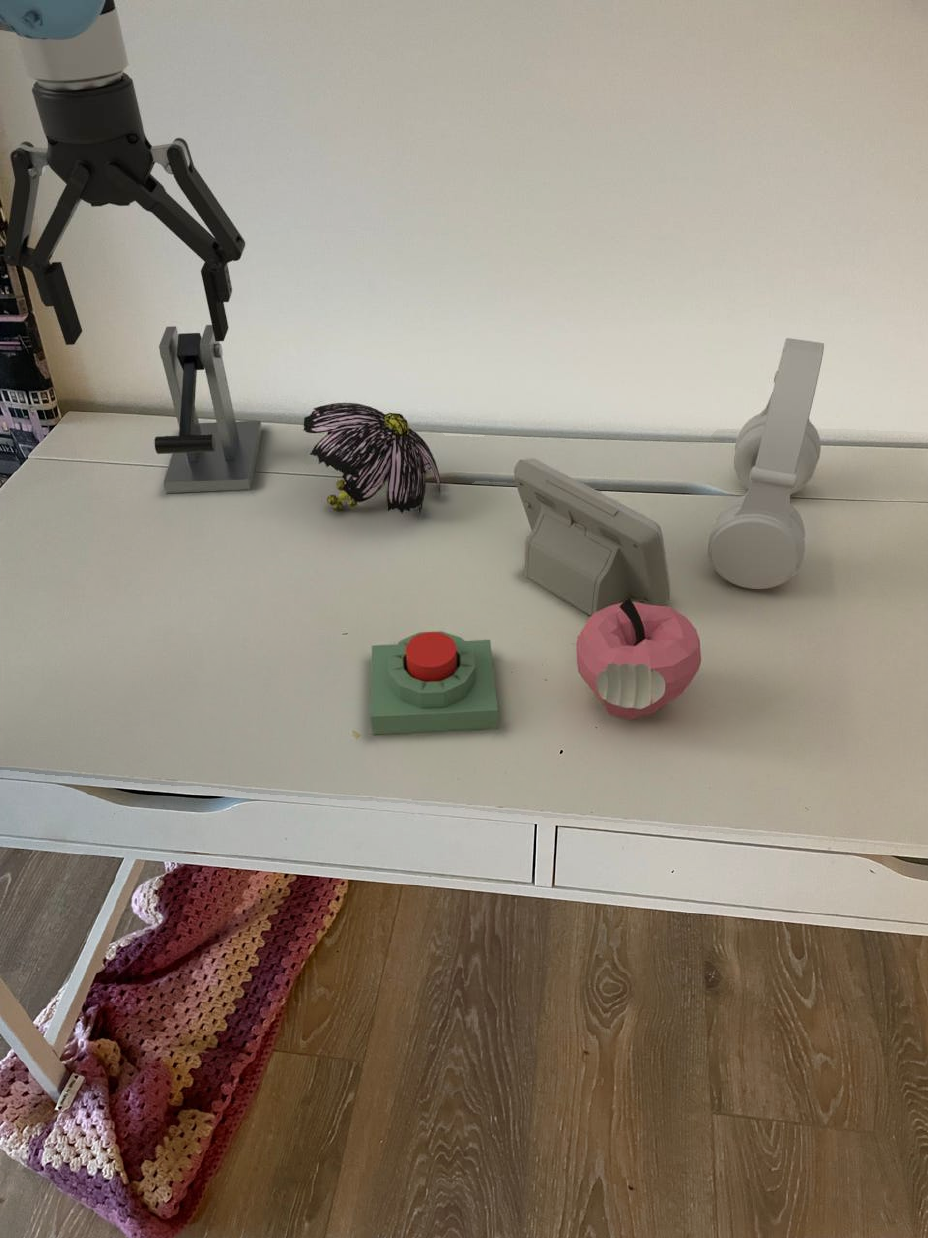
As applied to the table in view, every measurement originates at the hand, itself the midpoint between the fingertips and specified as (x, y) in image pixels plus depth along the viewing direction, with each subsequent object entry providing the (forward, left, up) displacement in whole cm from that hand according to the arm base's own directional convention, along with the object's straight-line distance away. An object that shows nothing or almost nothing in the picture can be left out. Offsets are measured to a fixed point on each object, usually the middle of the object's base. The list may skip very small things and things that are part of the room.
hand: (148, 336), depth 86 cm
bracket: (+2, +7, -18) cm, 20 cm away
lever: (+2, +3, -9) cm, 9 cm away
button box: (+25, -30, -18) cm, 43 cm away
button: (+25, -30, -15) cm, 41 cm away
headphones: (+58, -10, -18) cm, 61 cm away
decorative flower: (+20, -2, -18) cm, 27 cm away
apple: (+41, -32, -18) cm, 55 cm away
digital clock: (+40, -16, -18) cm, 46 cm away
